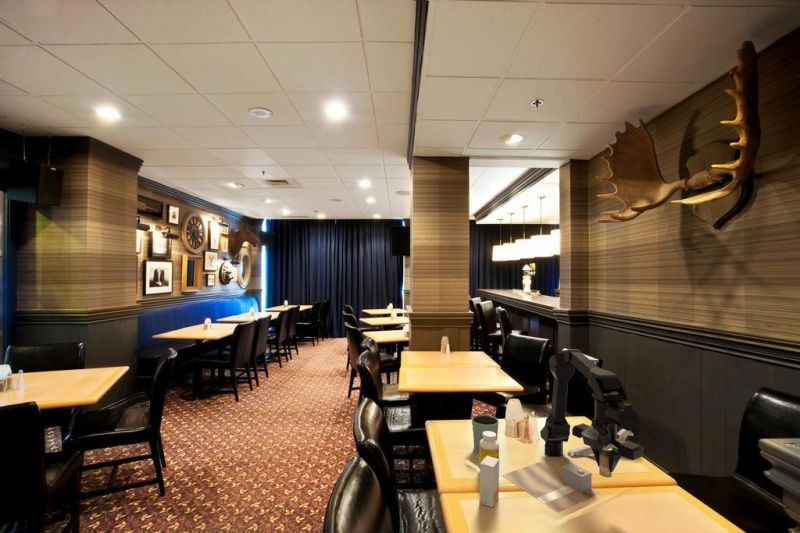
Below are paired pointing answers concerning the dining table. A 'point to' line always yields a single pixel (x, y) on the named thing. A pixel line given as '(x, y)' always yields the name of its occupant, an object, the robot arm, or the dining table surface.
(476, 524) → the dining table surface
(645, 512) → the dining table surface
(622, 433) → the wrench
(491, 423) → the grey green cup
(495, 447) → the supplement bottle
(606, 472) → the tan small bottle
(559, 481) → the board
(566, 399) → the robot arm
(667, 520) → the dining table surface
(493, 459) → the skincare box
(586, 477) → the block
